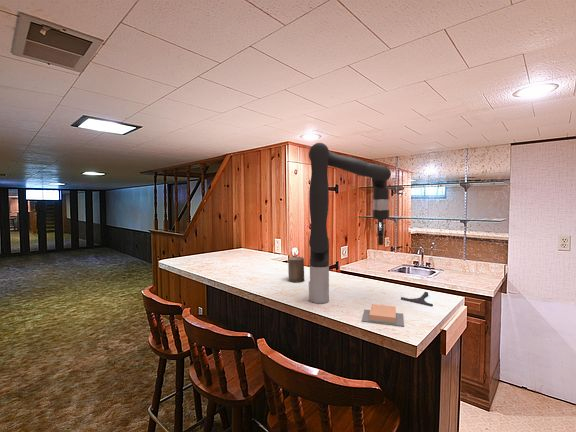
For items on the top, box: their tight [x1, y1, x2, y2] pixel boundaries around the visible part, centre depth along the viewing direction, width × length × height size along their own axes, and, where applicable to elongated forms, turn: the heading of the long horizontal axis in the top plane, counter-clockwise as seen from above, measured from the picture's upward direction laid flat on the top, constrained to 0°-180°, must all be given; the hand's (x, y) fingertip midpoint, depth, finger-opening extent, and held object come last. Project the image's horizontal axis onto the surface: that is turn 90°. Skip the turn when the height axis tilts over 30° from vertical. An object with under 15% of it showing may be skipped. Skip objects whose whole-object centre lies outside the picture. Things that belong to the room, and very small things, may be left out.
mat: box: [361, 309, 405, 328], centre depth 124 cm, size 16×13×1 cm
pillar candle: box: [287, 256, 305, 283], centre depth 183 cm, size 10×10×15 cm
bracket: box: [400, 291, 434, 307], centre depth 147 cm, size 14×15×3 cm
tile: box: [369, 303, 397, 324], centre depth 125 cm, size 10×2×13 cm
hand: (380, 244), depth 145 cm, fingers closed
